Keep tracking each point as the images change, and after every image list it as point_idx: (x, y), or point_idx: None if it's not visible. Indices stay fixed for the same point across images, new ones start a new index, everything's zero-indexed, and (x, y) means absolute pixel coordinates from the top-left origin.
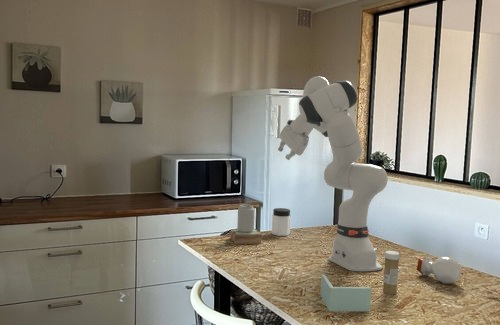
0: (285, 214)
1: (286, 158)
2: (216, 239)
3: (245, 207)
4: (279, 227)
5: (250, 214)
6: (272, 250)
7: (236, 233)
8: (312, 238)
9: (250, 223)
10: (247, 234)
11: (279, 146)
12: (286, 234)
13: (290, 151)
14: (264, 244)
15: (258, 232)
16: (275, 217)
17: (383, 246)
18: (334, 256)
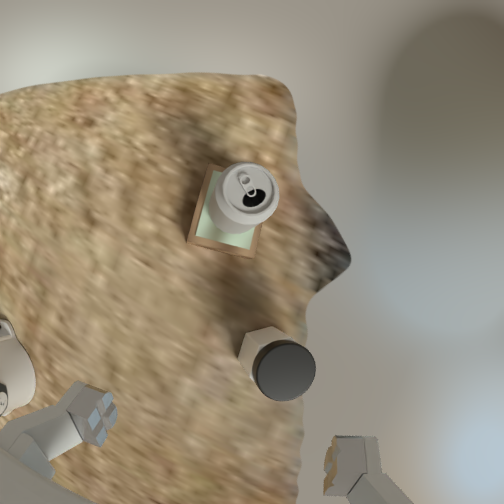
0: (253, 370)
1: (78, 381)
2: (267, 149)
3: (227, 174)
4: (249, 341)
5: (213, 197)
6: (112, 237)
7: (218, 171)
8: (188, 410)
9: (210, 205)
10: (202, 200)
11: (378, 469)
12: (238, 357)
13: (28, 442)
14: (173, 246)
15: (213, 244)
16: (273, 339)
17: None
18: (3, 335)
